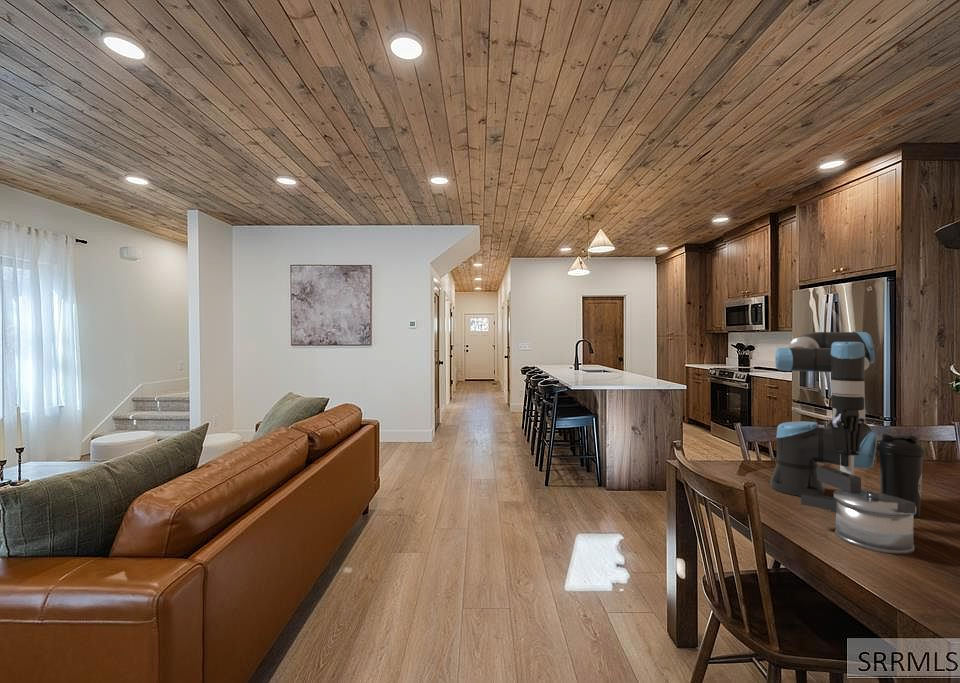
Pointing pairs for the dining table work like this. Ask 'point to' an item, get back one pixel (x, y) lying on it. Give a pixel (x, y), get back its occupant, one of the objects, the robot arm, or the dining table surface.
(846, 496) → the lid
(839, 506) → the pot
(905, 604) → the dining table surface
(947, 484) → the dining table surface
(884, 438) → the water bottle
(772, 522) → the dining table surface
